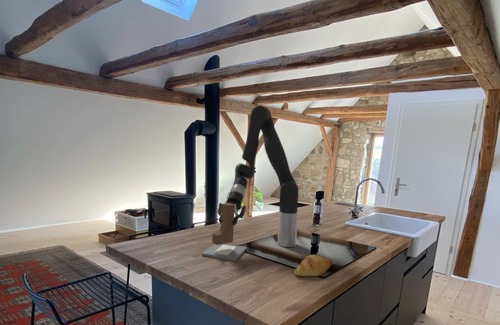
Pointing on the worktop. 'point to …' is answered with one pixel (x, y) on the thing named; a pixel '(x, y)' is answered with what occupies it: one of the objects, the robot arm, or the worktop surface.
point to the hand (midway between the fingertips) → (227, 223)
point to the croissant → (313, 266)
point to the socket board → (225, 251)
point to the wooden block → (225, 225)
